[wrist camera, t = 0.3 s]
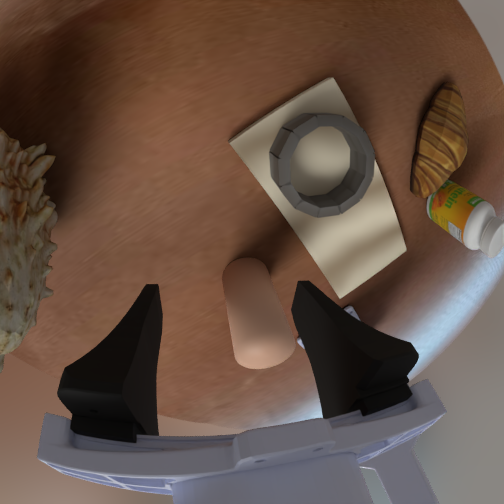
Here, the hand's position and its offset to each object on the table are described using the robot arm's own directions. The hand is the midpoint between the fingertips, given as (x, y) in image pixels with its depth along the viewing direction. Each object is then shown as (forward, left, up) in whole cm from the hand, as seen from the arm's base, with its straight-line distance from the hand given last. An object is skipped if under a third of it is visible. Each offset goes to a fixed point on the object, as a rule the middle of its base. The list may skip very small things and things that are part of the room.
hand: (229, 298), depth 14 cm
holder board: (-6, -9, -10) cm, 15 cm away
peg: (-7, +2, -10) cm, 12 cm away
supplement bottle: (-14, -21, -10) cm, 27 cm away
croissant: (-6, -22, -11) cm, 25 cm away
